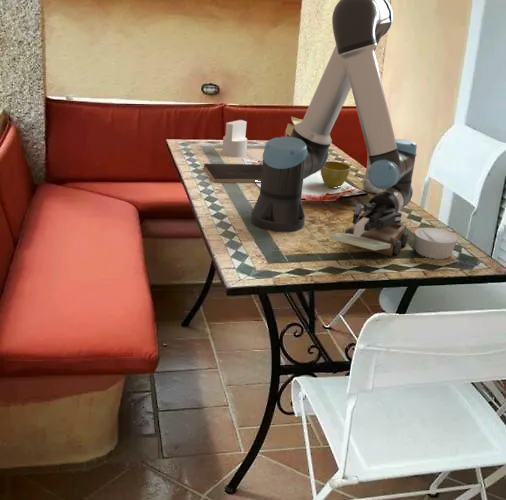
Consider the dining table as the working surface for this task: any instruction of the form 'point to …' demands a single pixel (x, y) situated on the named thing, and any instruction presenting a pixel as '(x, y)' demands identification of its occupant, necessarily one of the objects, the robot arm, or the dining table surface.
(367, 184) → the plastic bottle
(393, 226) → the flatbed cart
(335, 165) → the flower pot
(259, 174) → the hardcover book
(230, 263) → the dining table surface
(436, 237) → the ramekin
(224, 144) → the cylinder with rectangular tab
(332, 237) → the panel
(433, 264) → the dining table surface
